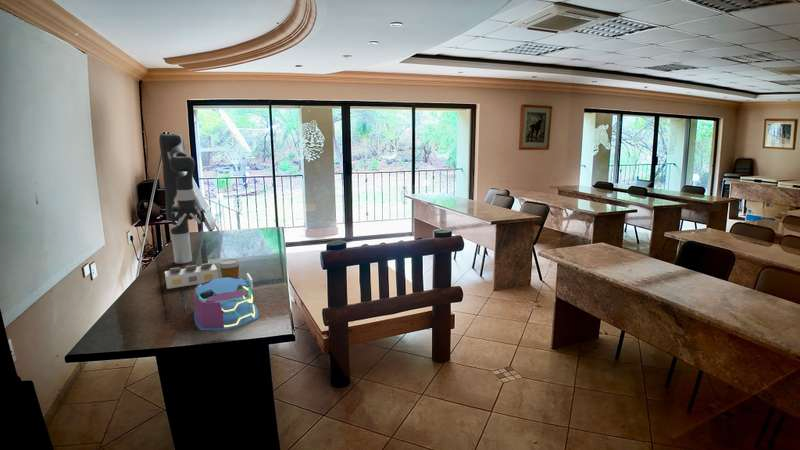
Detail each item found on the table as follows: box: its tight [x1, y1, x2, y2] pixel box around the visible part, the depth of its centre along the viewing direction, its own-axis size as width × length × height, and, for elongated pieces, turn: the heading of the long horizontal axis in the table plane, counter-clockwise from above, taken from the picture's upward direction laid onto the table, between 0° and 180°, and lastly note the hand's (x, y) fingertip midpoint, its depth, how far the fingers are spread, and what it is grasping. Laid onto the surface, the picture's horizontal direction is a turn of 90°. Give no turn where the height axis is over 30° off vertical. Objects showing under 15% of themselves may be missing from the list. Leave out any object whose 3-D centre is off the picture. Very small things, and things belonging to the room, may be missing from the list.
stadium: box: [193, 273, 259, 331], centre depth 179 cm, size 35×24×14 cm
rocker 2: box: [184, 264, 197, 270], centre depth 217 cm, size 8×4×1 cm, turn 30°
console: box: [164, 264, 219, 290], centre depth 218 cm, size 10×23×7 cm, turn 120°
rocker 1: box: [169, 267, 182, 272], centre depth 213 cm, size 8×4×1 cm, turn 30°
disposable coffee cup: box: [218, 258, 240, 278], centre depth 212 cm, size 10×10×12 cm
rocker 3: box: [200, 262, 213, 267], centre depth 220 cm, size 8×4×1 cm, turn 30°
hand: (189, 231), depth 211 cm, fingers open, 8 cm apart
